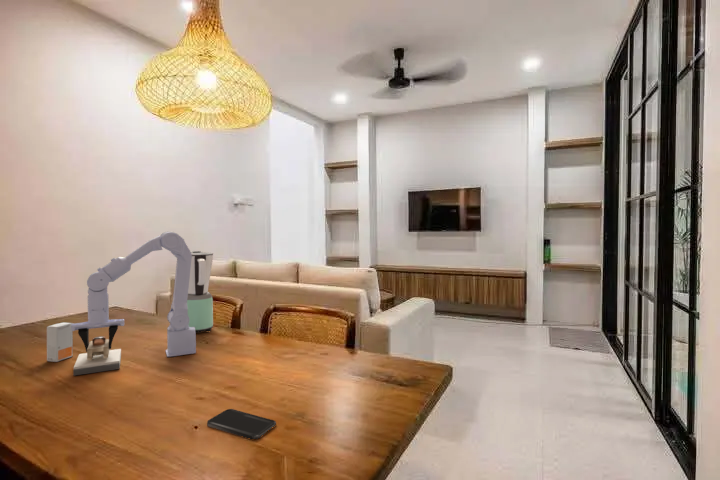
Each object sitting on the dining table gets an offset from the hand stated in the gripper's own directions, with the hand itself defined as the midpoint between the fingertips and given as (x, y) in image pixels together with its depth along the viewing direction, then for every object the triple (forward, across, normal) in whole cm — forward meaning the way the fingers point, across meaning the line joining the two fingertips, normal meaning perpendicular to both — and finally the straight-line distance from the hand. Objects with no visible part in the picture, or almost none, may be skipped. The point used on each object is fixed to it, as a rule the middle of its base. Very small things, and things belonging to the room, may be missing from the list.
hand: (98, 349), depth 128 cm
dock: (+5, 0, 0) cm, 5 cm away
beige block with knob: (+2, 0, 0) cm, 2 cm away
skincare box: (+5, -12, +13) cm, 18 cm away
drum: (-2, 0, 0) cm, 2 cm away
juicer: (+5, +34, +28) cm, 44 cm away
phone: (+6, +32, -62) cm, 70 cm away
